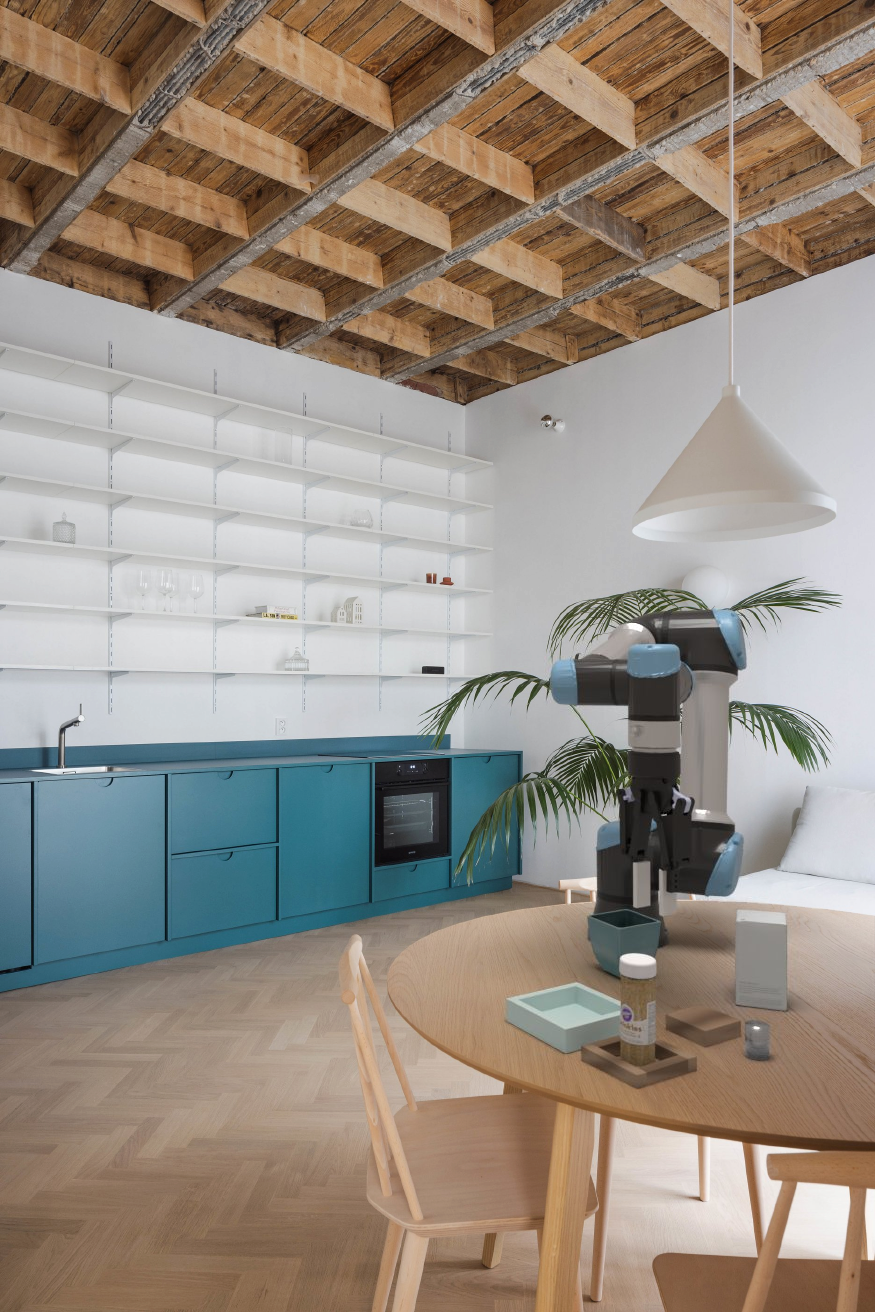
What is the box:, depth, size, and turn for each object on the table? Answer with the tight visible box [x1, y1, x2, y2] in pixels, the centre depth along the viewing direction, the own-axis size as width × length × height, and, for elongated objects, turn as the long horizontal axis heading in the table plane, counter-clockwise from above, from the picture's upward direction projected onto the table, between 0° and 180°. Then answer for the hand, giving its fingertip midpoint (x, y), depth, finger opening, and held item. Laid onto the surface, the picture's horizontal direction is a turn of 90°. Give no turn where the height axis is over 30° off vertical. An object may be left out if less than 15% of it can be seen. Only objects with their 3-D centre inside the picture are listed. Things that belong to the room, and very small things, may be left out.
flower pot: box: [586, 909, 661, 979], centre depth 148 cm, size 9×9×9 cm
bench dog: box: [744, 1019, 771, 1062], centre depth 116 cm, size 3×3×4 cm
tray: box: [505, 982, 621, 1055], centre depth 126 cm, size 13×13×3 cm
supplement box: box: [734, 909, 788, 1012], centre depth 136 cm, size 7×7×13 cm
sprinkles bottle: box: [619, 953, 658, 1068], centre depth 113 cm, size 5×5×14 cm
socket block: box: [580, 1035, 698, 1089], centre depth 113 cm, size 10×10×2 cm
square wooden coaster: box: [665, 1004, 742, 1048], centre depth 124 cm, size 7×7×2 cm
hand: (654, 909), depth 132 cm, fingers open, 4 cm apart
